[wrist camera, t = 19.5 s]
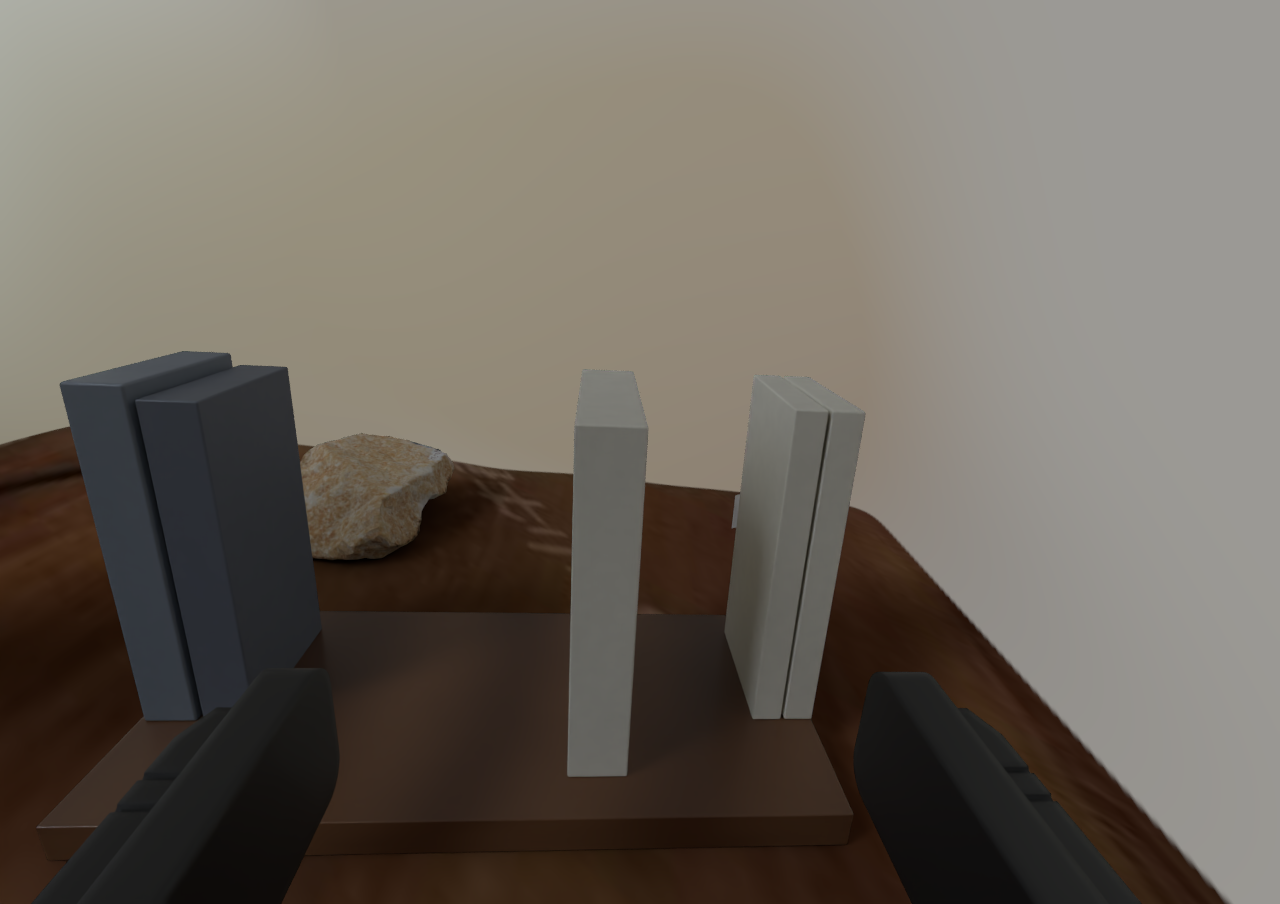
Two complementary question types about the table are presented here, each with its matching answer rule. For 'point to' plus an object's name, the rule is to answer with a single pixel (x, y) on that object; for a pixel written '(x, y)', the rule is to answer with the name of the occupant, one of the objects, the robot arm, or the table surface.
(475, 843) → the shelf board
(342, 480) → the stone
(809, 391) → the cream books
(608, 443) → the white rectangular block
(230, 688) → the grey books
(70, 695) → the table surface
